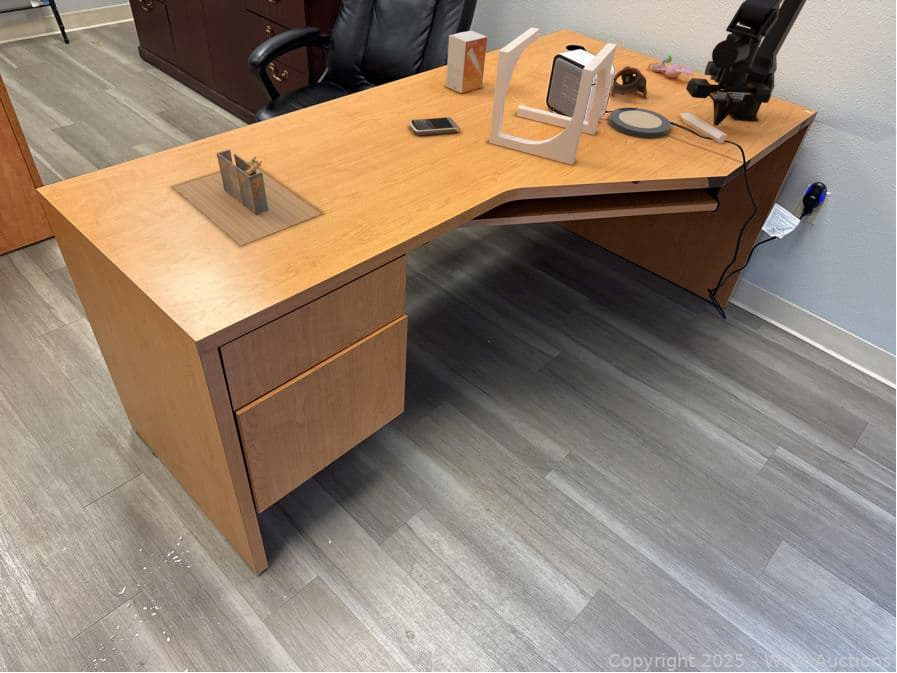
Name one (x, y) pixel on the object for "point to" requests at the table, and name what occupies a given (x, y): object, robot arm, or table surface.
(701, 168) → the table surface
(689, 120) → the beige long bar
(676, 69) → the pink elongated piece
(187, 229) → the table surface
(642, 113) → the plate
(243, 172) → the architectural model on board
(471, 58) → the small box
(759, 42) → the robot arm
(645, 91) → the brown curved piece
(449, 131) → the cell phone
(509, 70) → the white open stand
